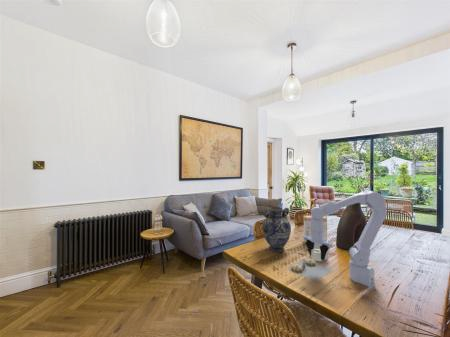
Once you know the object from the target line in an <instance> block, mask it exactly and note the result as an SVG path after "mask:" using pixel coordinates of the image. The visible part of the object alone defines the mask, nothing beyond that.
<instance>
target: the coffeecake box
mask: <svg viewBox="0 0 450 337" xmlns="http://www.w3.org/2000/svg"><path fill="white" fill-rule="evenodd" d="M311 217H312V215H311V214H310V215H303V236H305V235H306V236H311V221H312V220H311ZM323 240H326V241H328V218H327V216H324V217H323ZM306 241H307V240H303V242H304V243H305V242H306Z"/></svg>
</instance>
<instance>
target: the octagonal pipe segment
mask: <svg viewBox="0 0 450 337" xmlns="http://www.w3.org/2000/svg"><path fill="white" fill-rule="evenodd" d="M310 257H311V258H310V259H312V260H314V261H316V262H323V261H324V260H321V251H320V249H311V256H310Z"/></svg>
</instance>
